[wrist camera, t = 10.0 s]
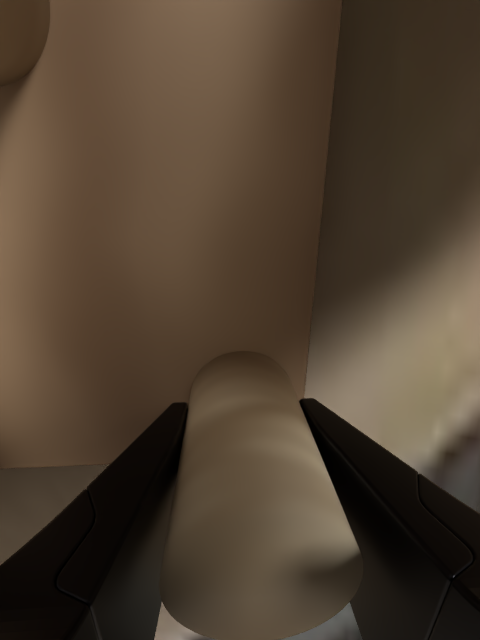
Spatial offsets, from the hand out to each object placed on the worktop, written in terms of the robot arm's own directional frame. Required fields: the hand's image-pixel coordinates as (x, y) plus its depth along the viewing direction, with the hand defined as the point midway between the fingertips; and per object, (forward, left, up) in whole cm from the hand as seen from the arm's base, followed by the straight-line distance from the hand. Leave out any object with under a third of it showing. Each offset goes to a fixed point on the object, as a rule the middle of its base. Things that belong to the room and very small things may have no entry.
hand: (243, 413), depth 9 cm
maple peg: (0, 0, -1) cm, 1 cm away
